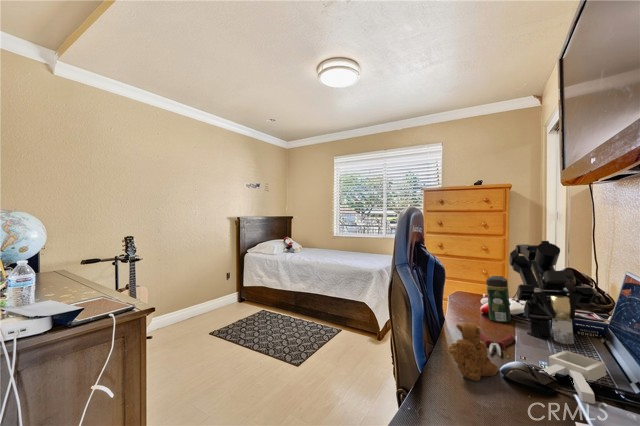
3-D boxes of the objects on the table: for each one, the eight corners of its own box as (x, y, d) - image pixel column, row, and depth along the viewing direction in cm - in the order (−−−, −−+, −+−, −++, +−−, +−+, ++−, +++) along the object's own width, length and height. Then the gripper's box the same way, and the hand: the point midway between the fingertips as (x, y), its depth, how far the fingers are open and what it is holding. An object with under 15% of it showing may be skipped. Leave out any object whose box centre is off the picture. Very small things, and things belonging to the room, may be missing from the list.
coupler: (554, 336, 84) (550, 294, 85) (573, 340, 81) (569, 296, 82) (554, 341, 81) (550, 297, 82) (574, 345, 78) (569, 299, 79)
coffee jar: (490, 315, 124) (487, 274, 125) (511, 318, 119) (508, 275, 120) (487, 321, 116) (484, 277, 117) (509, 324, 111) (506, 279, 112)
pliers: (474, 355, 87) (474, 347, 87) (476, 333, 104) (476, 326, 104) (518, 363, 81) (517, 354, 81) (512, 339, 98) (512, 332, 98)
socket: (566, 362, 80) (565, 350, 80) (630, 384, 68) (628, 370, 68) (525, 379, 72) (524, 365, 72) (589, 407, 60) (587, 391, 60)
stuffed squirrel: (499, 369, 77) (495, 322, 78) (486, 391, 67) (482, 337, 68) (462, 358, 84) (459, 315, 85) (445, 377, 74) (441, 328, 75)
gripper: (516, 259, 90) (529, 302, 79) (589, 260, 82) (615, 307, 72) (511, 279, 96) (523, 321, 86) (579, 281, 89) (601, 327, 78)
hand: (563, 318), depth 80 cm, fingers closed on coupler, 4 cm apart
